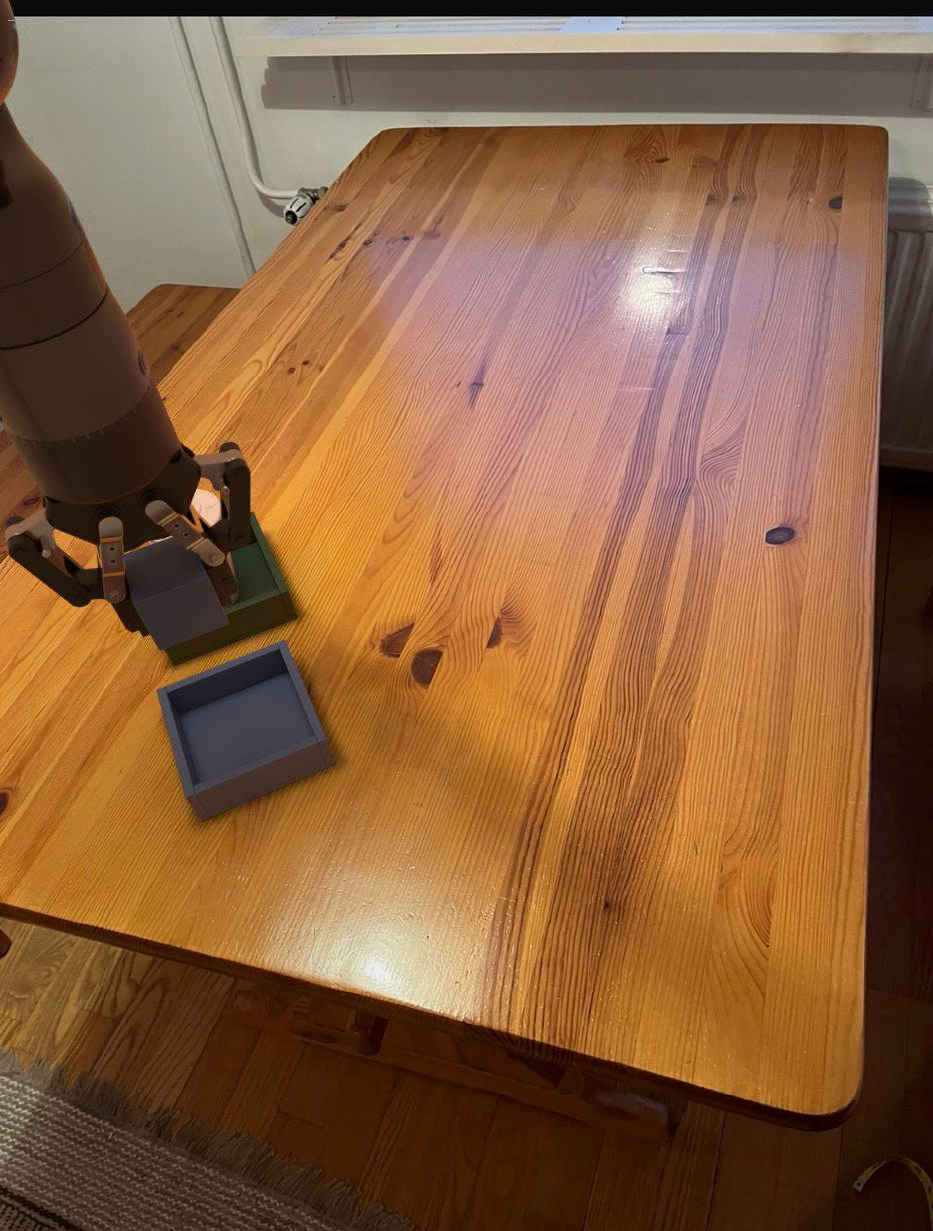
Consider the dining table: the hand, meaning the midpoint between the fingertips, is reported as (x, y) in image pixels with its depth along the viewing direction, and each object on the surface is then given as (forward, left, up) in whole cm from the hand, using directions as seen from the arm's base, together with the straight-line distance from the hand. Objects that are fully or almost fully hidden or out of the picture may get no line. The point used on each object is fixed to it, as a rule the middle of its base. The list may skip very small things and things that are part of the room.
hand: (184, 610), depth 59 cm
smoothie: (+1, +16, -16) cm, 22 cm away
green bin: (+2, +16, -16) cm, 23 cm away
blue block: (0, 0, 0) cm, 0 cm away
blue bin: (0, +1, -16) cm, 16 cm away
